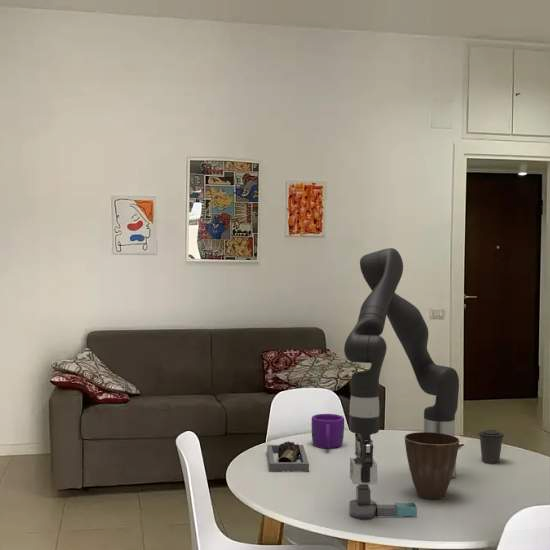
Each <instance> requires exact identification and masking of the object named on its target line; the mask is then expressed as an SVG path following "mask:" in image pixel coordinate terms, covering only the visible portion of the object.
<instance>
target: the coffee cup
mask: <svg viewBox="0 0 550 550" xmlns="http://www.w3.org/2000/svg"><path fill="white" fill-rule="evenodd" d="M478 436H479V442H480V452H481V453H480V454H481V462H482V463H483V462H484V464H487V465H498V464H499V463H500V458H501V452H502V445H503V438H504V437H505V434H504V433H503V432H501V431H497V430H495V429H486V430H485V429H484V430H480V431H479V432H478ZM497 463H498V464H497Z"/></svg>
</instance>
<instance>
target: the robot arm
mask: <svg viewBox="0 0 550 550" xmlns="http://www.w3.org/2000/svg"><path fill="white" fill-rule="evenodd" d="M359 266H360V267H359V268H360V271H361V273H362V274H361V275H362V276H363V279H364V280H365V282H366V284H367V285H368V287H369V289H370V290H371V292H370V293H369V294H368V295H367V297H366V298H365V299H364V301H363V302H362V304H361V306H360V310H359V315H358V319H357V322H356V324H355V325H354V327H353V328H352V330H351V332H349V335H348V336H347V337H346V339H345V342H344V347H343V352H344V355H345V358H346V359H347V360H348V361H349V362H352V363H362V364H363V363H364V364H370V367H369V368H368V369H366V370H361V371H355V372H353V373H352V374H351V378H350V379H351V380H350V400H349V427H348V429H349V432H350V433H353V434H354V437H355V440H354V442H355V444H354V445H355V447H354V449H355V450H354V451H355V453H354V455H355V458H359V459H360V460H361V465H360V466H361V482H362V483H369V482H370V468H371V467H372V466H373V464H372V462H373V459H374V458H373V457H374V441H373V440H372V439H371V436H372V435H375V434H378V433H379V431H380V400H379V391H380V389H379V387H380V386H379V385H380V376H381V370H382V367H383V363H384V360H385V357H386V354H387V349H388V347H387V342H386V340H385V338H384V337H382V334H383V331H384V329H385V323H386V320H387V319H388V321H389V323H390V326H391V327H392V329H393V332H394V334H395V336H396V338H397V339H398V341H399V342H400V344H401V346H402V348H403V351H404V353H405V354H406V356H407V358H408V360H409V362H410V365H411V368H412V371H413V373H414V375H415V377H416V381H417V383H418V386H419V388H420V389H421V391H423V392H424V393H425V394H427V395H431V396H435V403H434V404H433V405H431V406H427V407H425V408H424V410H423V432H433V433H442V434H448V435H452V436H455V437H456V435H455V431H456V429H455V428H456V413H457V410H458V405H459V393H460V377H459V374H458V371H457V370H456V369H455V368H454V367H450V366H444V365H438V364H436V362H435V361H434V360H433V358H432V357H431V355H430V354H429V351H428V341H429V328H428V325H427V323H426V321H425V319H424V317H423V314H422V313H421V311H420V309H418V307H416V306H415V305H414V304H412V303H411V302H410V301H408V300H407V299H406V298H404V297H401V295H399V294H397V293H396V290H397V289H398V285H399V283H400V281H401V279H402V276H403V272H404V262H403V258H402V256H401V254H400V253H399V251H398V250H397V249H395V248H394V247H393V248H392V247H388V248H384V249H381V250H377V251H373V252H370V253H366V254H364V255H363V256H362V257H361V258H360V260H359ZM365 459H368V462H365ZM452 478H453V479H454V478H457V461H456V462H455V466H454V470H453V474H452V477H451V479H452Z"/></svg>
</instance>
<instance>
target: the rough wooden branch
mask: <svg viewBox="0 0 550 550" xmlns="http://www.w3.org/2000/svg"><path fill="white" fill-rule="evenodd" d="M279 445H280V446H279V450H278V453H277V458H278V460H277V462H295V461H296V459H298V458H299V457H300V456H299V455H300V448H299V445H300V444H298V443H297V444H296V443H295V442H294V441H286V442H285V441H284V442H283V443H280V444H279Z"/></svg>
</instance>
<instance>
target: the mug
mask: <svg viewBox="0 0 550 550" xmlns="http://www.w3.org/2000/svg"><path fill="white" fill-rule="evenodd" d="M344 433H345V417H344V416H342V415H340V414H333V413H318V414H314V415H312V417H311V440H312V443H313V445H314V446H315V447H317V448H320V447H322V448H321V449H336V447H337V448H339V447H341V446H342V445H343V441H344V437H345V436H344Z"/></svg>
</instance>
